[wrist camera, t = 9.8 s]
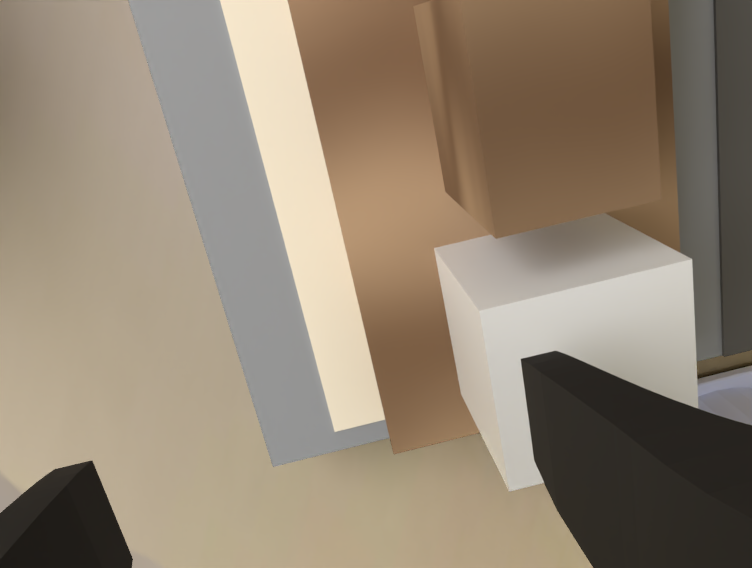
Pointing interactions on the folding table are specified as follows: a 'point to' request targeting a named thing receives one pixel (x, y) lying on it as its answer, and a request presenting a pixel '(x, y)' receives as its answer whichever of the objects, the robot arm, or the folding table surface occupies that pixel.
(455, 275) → the block
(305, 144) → the dock
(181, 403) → the folding table surface
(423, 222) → the pallet
